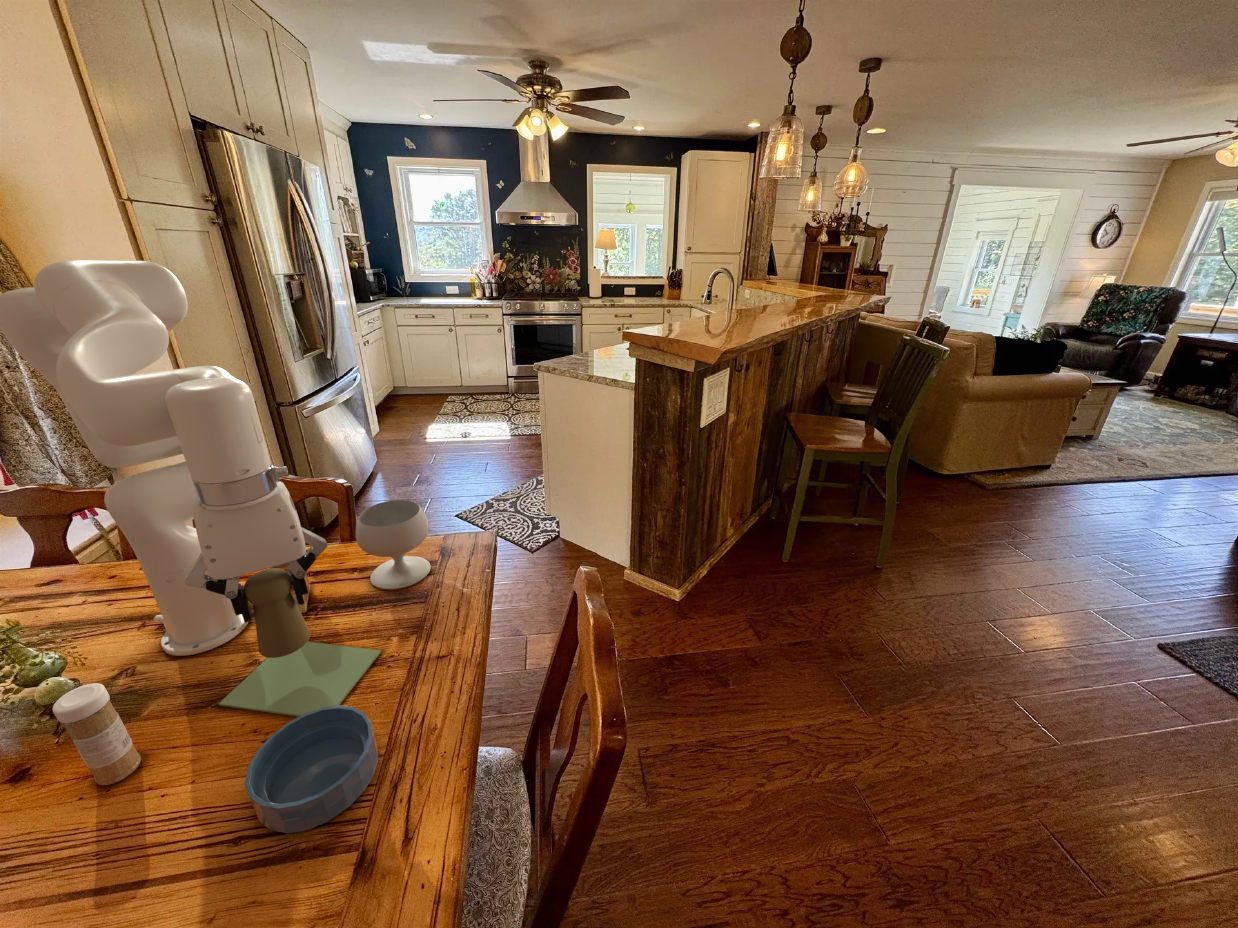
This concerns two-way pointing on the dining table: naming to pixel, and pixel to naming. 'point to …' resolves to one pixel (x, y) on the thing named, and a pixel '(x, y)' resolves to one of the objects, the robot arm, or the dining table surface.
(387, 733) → the dining table surface
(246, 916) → the dining table surface
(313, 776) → the bowl
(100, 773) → the sprinkles bottle
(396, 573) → the chalice
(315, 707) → the mat
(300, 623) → the cork
